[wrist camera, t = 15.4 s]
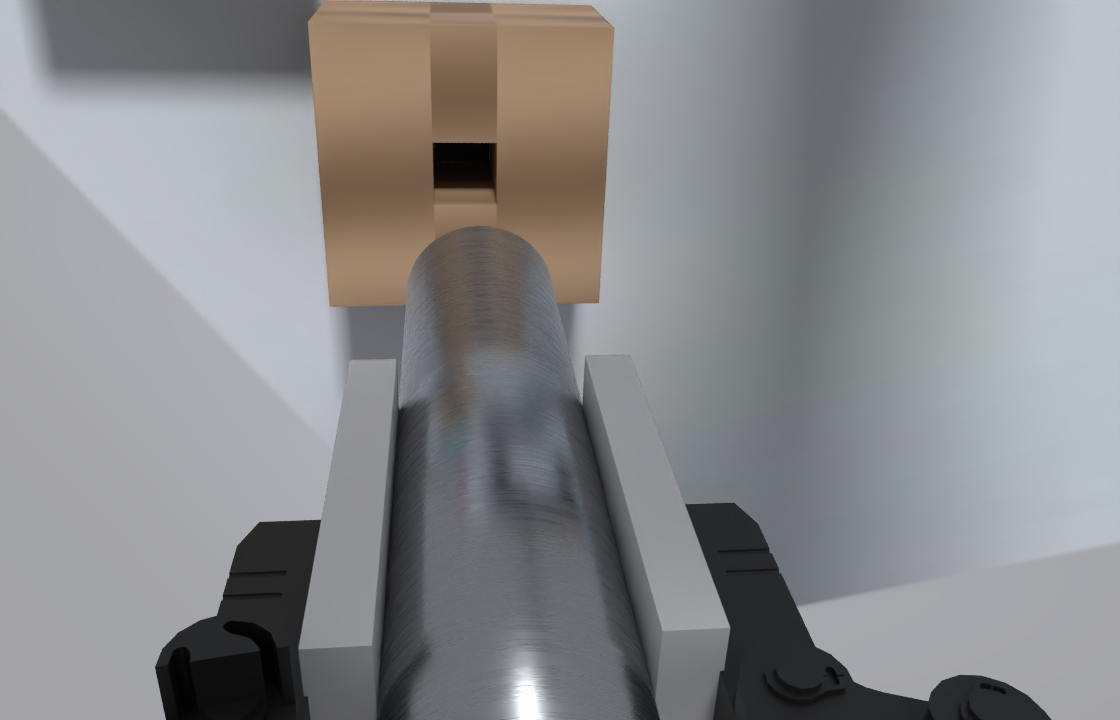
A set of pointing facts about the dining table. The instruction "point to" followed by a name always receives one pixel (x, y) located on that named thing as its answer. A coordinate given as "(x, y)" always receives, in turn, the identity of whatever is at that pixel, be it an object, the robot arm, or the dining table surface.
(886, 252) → the dining table surface
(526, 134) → the walnut block narrow bore
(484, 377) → the cylinder
